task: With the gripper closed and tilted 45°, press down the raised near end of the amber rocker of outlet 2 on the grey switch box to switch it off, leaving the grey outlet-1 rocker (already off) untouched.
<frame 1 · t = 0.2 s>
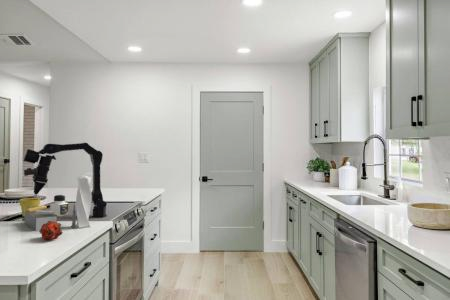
hand: (35, 193, 178), 15 cm above the worktop, tool pointing down, fingers open, 9 cm apart
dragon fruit: (51, 239, 145), on the worktop
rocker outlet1: (44, 212, 165), point 8 cm above the worktop, hinge at -10.0°
grey switch box: (40, 225, 170), on the worktop
plant pot: (29, 216, 194), on the worktop
skyscraper: (82, 227, 170), on the worktop
medicine bottle: (59, 215, 198), on the worktop
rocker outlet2: (37, 208, 174), point 8 cm above the worktop, hinge at 10.0°
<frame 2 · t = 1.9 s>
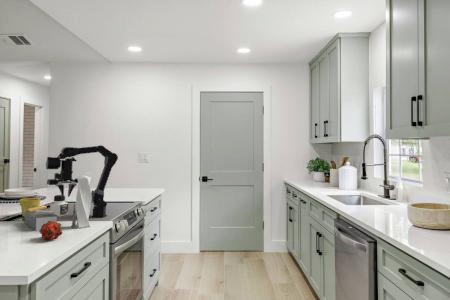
hand: (65, 196, 186), 13 cm above the worktop, tool pointing down, fingers open, 3 cm apart
nothing on the worktop moved.
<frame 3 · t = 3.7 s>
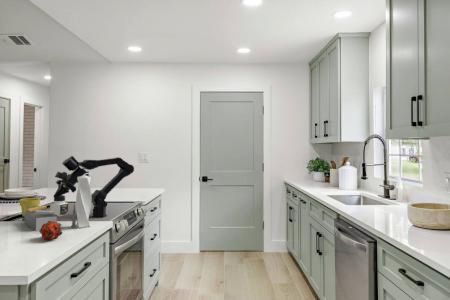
hand: (53, 197, 180), 13 cm above the worktop, tool tilted 45°, fingers closed
nothing on the worktop moved.
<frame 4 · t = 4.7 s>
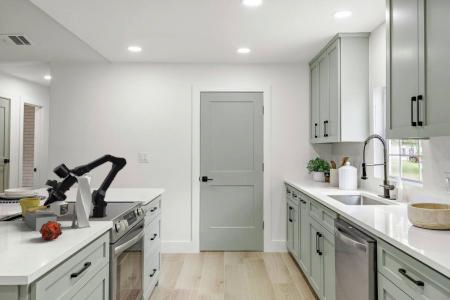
hand: (44, 205, 177), 9 cm above the worktop, tool tilted 45°, fingers closed, pressing on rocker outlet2
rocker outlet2: (37, 208, 174), point 8 cm above the worktop, hinge at 10.0°, touching gripper
everything else where it was.
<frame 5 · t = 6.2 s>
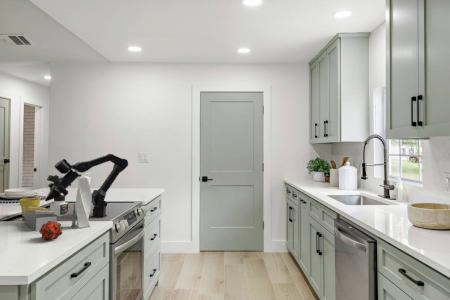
hand: (45, 200, 177), 12 cm above the worktop, tool tilted 45°, fingers closed
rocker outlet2: (37, 208, 175), point 8 cm above the worktop, hinge at -11.0°
everything else where it was.
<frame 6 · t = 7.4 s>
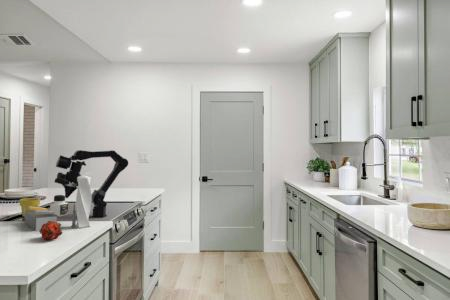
hand: (66, 197, 187), 12 cm above the worktop, tool pointing down, fingers closed
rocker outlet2: (37, 208, 175), point 8 cm above the worktop, hinge at -12.7°
everything else where it was.
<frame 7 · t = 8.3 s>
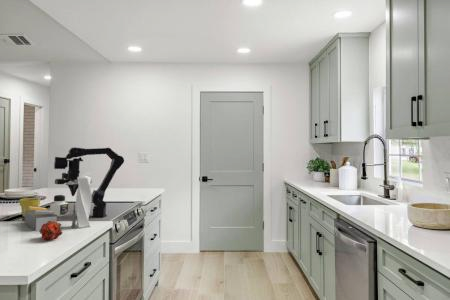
hand: (72, 196, 189), 13 cm above the worktop, tool pointing down, fingers closed
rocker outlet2: (37, 208, 175), point 8 cm above the worktop, hinge at -11.5°
everything else where it was.
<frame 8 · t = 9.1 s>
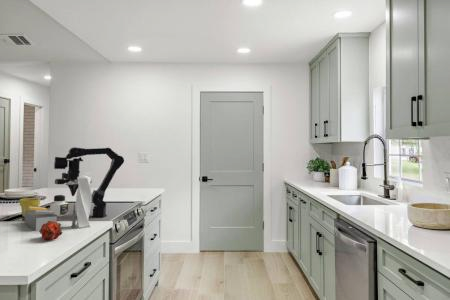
hand: (72, 196, 189), 13 cm above the worktop, tool pointing down, fingers closed
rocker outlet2: (37, 208, 175), point 8 cm above the worktop, hinge at -10.9°
everything else where it was.
at the end: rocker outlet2 at -11° (first picture: +10°); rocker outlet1 at -10° (first picture: -10°) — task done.
